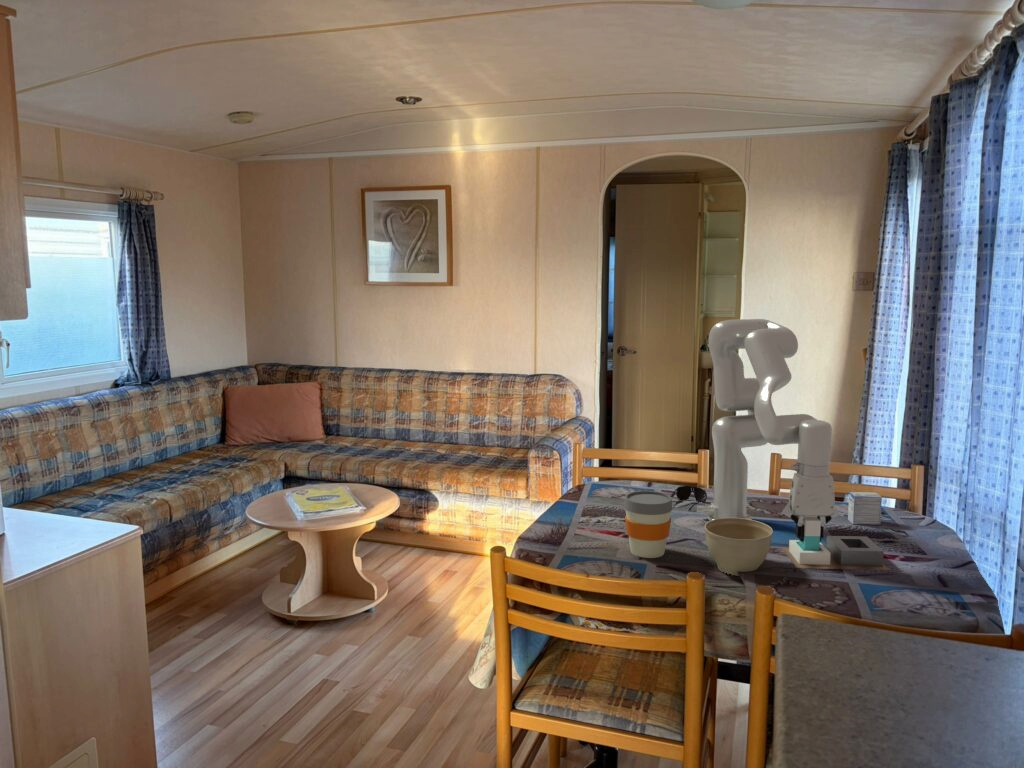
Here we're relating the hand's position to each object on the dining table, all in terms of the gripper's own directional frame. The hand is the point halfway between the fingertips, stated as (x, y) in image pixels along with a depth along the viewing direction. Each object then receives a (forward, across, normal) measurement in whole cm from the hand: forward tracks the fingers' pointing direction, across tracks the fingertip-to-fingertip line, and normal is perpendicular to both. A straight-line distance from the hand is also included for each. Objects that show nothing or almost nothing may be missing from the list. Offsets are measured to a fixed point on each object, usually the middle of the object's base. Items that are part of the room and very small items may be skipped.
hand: (809, 539), depth 188 cm
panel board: (+6, +6, 0) cm, 9 cm away
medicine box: (+7, +26, +33) cm, 42 cm away
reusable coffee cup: (+7, -40, +6) cm, 41 cm away
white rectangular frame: (+5, 0, 0) cm, 5 cm away
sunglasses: (+7, -23, +48) cm, 54 cm away
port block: (+5, +11, 0) cm, 12 cm away
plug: (+4, 0, 0) cm, 4 cm away
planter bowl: (+7, -19, -5) cm, 21 cm away
